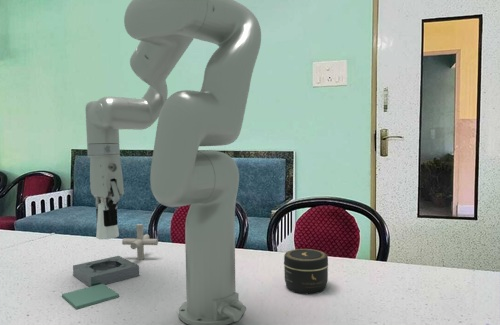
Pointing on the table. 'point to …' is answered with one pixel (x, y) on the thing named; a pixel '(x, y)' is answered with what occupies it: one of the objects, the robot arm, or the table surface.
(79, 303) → the mat
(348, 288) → the table surface
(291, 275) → the jar
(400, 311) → the table surface
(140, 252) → the pipe connector
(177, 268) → the table surface
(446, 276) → the table surface
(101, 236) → the pepper shaker
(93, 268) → the frame
